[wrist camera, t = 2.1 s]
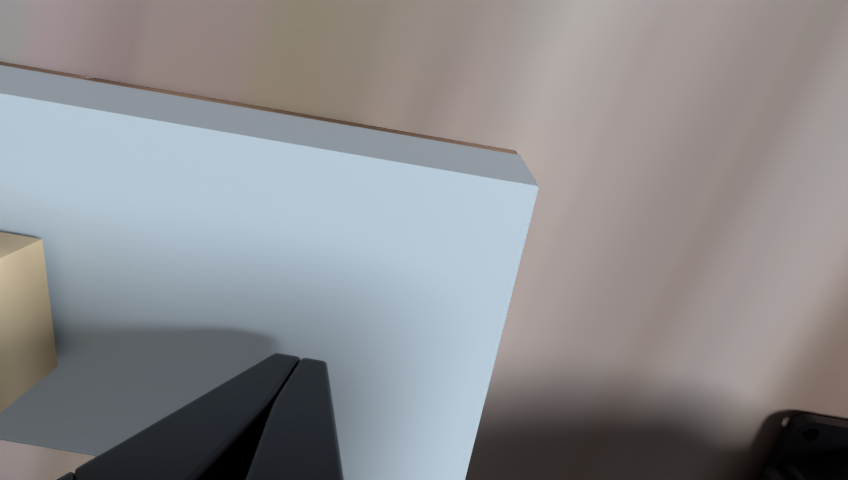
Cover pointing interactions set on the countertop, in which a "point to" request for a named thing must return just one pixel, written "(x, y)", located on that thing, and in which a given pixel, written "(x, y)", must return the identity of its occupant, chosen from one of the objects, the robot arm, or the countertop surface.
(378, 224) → the lid
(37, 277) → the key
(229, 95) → the countertop surface
